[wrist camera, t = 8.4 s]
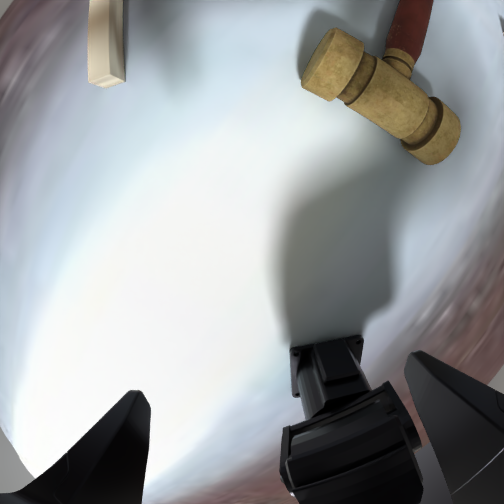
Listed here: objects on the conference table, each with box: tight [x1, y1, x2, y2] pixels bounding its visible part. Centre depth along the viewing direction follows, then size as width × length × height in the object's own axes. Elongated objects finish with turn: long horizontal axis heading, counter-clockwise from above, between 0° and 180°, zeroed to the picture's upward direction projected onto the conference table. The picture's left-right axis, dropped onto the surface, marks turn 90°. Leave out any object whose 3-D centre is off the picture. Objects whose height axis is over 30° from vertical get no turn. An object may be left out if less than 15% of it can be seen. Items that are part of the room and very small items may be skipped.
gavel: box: [301, 0, 461, 165], centre depth 12 cm, size 21×5×10 cm
